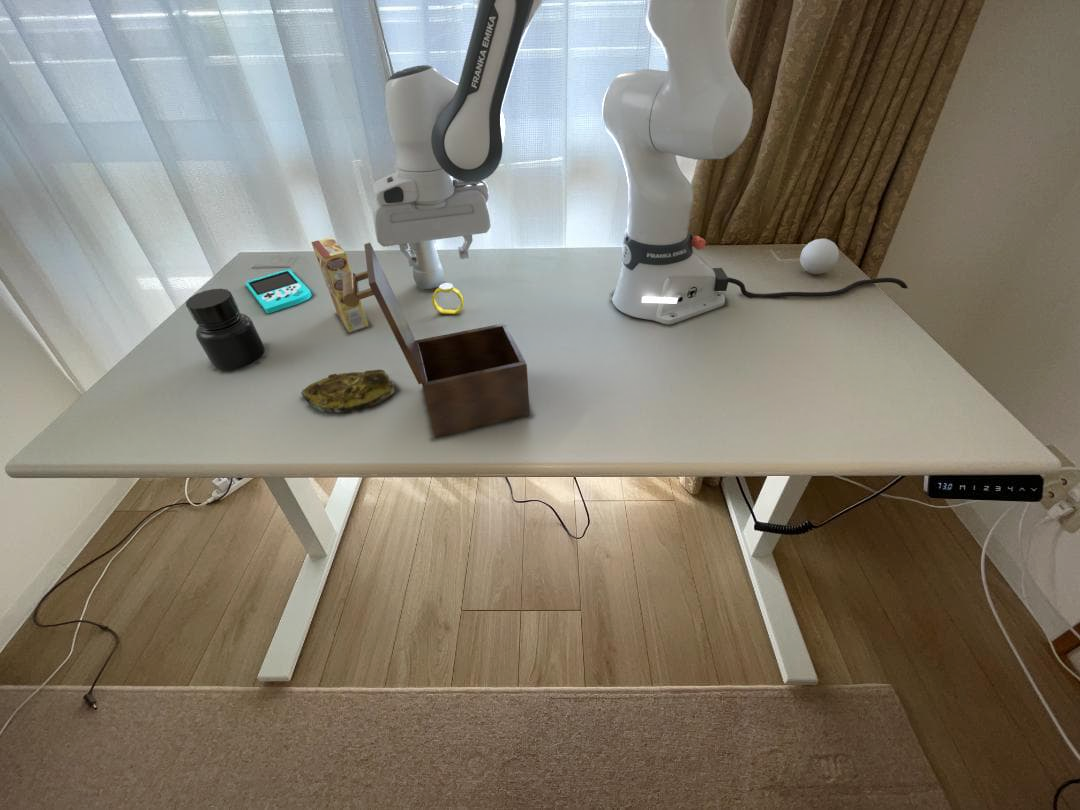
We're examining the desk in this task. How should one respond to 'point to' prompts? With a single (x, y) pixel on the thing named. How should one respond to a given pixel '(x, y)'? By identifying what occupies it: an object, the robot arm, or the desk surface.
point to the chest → (473, 379)
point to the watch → (446, 288)
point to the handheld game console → (278, 290)
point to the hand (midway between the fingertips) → (439, 261)
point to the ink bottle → (224, 330)
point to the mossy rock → (349, 391)
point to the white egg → (819, 256)
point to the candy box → (338, 281)
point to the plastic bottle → (427, 265)
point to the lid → (383, 306)
